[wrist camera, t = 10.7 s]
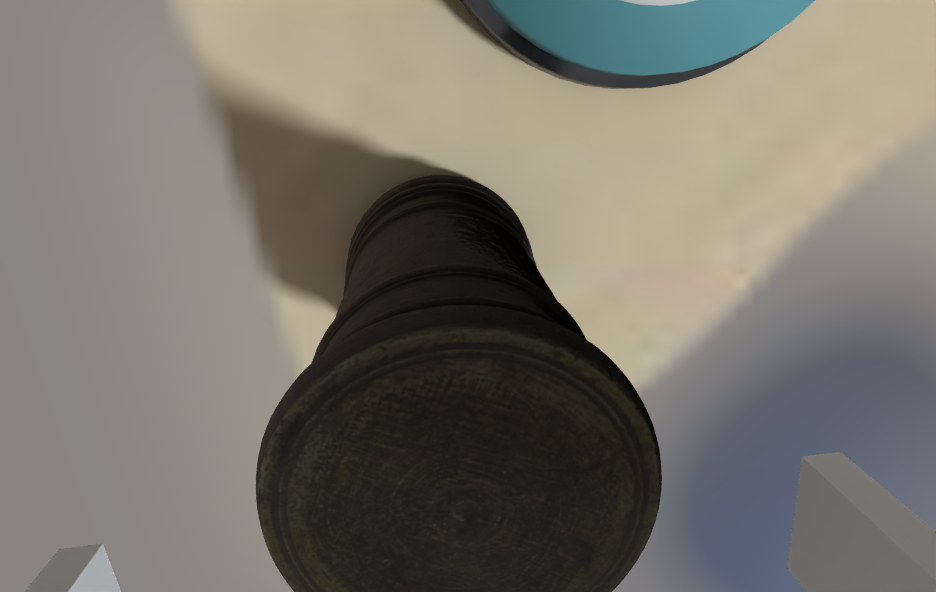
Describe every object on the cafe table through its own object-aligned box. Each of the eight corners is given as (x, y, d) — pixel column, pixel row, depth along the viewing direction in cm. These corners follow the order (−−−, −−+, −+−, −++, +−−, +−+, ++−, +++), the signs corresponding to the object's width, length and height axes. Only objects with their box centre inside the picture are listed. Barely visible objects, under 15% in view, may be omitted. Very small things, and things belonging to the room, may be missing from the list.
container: (353, 346, 29) (260, 689, 12) (344, 172, 26) (203, 311, 9) (522, 344, 30) (654, 666, 13) (532, 174, 27) (720, 307, 10)
